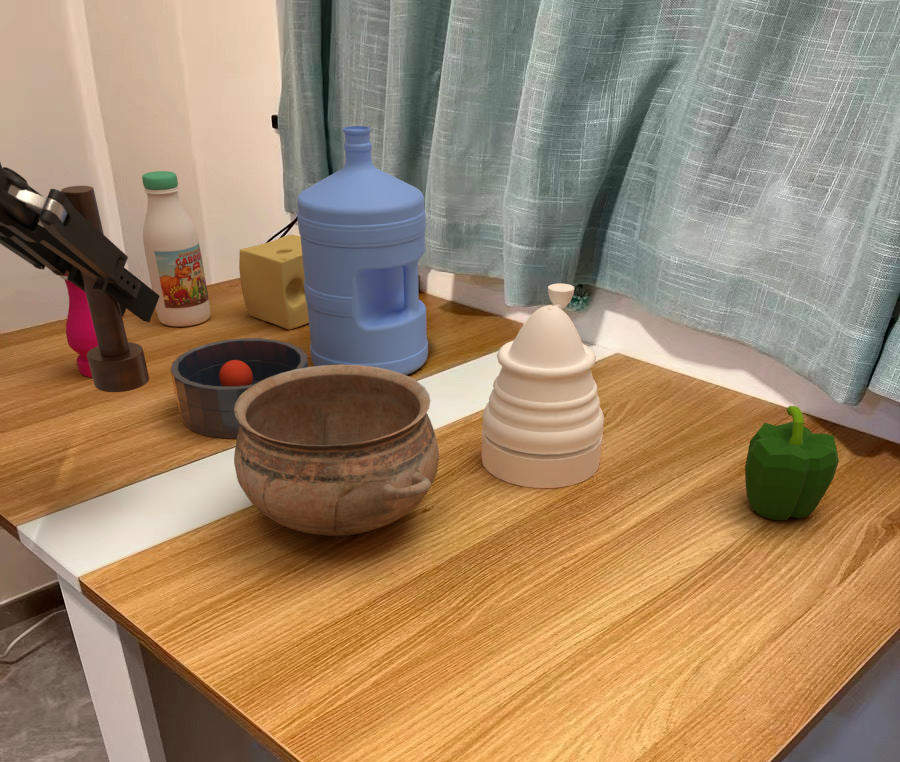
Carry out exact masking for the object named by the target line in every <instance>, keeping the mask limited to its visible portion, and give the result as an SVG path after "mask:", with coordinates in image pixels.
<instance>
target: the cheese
mask: <svg viewBox="0 0 900 762" xmlns="http://www.w3.org/2000/svg"><path fill="white" fill-rule="evenodd" d="M238 261H239V262H238V263H239V264H238V268H239V270H238V271H239V278H240V285H241V291H242V297H243V301H244V305H245V308H246V311H247V314H248V315H249V316H250V317H253V318H255V319H258V320H260V321H263V322H267V323H269V324H272V325H275V326H277V327H280V328H283V329H286V330H287V331H291V330H293V329H296V328H299V327H302V326H306V325H307V324H309V319H308V308H307V302H306V298H305V290H304V280H305V278H304V267H303V257H302V247H301V236H300V235H296V234H287V235H285V236H282V237H279V238H277V239H274V240H271V241H268V242H264V243H261V244H257V245H253V246H248V247H244V248H240V249H239V260H238Z"/></svg>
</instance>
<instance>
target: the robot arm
mask: <svg viewBox="0 0 900 762" xmlns="http://www.w3.org/2000/svg"><path fill="white" fill-rule="evenodd" d="M0 245H2V246H3V247H4V248H6V249H8V250H9V251H10V252H12V253H13V254H15V255H16V256H18V257H20V258H21V259H23V260H24V261H25V262H27V263H28V264H30V265H32V266H33V267H34V268H36V269H38V270H45V268H47V269H48V270H49V271H51V272H52V273H53V274H54V275H56V276H59V277H60V276H65V275H67V276H68V278H67V280H69V281H70V282H72V283H73V284H74V285H76V286H77V287H79V288H80V289H81V290H83V291H84V292H85V288H84V284H83V280H82V276H81V272H80V270H81V271H82V272H84V273H85V274H87V275H88V276H90V277H91V278H93V279H94V280H96V281H95V284H94V287H93V289H94V290H96V291H98V292H101V293H104V292H105V293H106V294H107V295H109V296H110V297H112V298H113V299H114V300H115V301H117V302H118V303H119V305H120V309H121V314H122V317H124V315H125V313H126V311H128V312H130V313H132V314H133V315H134V316H136V317H137V318H139V319H140V320H141V321H142V322H146V323H150V322H151V319H152V317H153V314H154V312H155V311H156V305H157V302H158V299H159V297H160V296H159V295H158V294H157V293H156V292H154V291H153V290H152V287H150V286H148V285H147V284H146V283H145V282H144V281H142V280H141V279H139V278H138V277H137V276H135V274H133V273H132V272H131V271H129V270H128V269H127V268H125V266H126V264H127V263H128V262H127V261H128V259H129V257H128V255H127V254H125V252H124V251H122V250H121V249H120V248H119V247H118V246H117V245H116V244H115V243H113V241H112V240H110V239H109V238H108V237H107V236H106V235H105V234H104V235H103V234H102V233H101V232H100V231H99V230H98V229H97V228H96V227H95V226H94V225H92V224H91V223H90V222H89V221H88V220H87V219H86V218H85V217H84V216H82V215H81V214H80V213H79V212H78V211H77V210H76V209H75V208H74V207H73V206H72V204H71V203H70V201H69V200H68V198H67V197H66V196H65V195H64V194H63V193H62V192H61V190H59V189H55V188H50V189H49V192H48V194H47V196H44V195H42V194H41V193H39V192H38V191H37V190H36V189H35V188H33V187H31V186H30V185H29V183H28V181H27V179H25V177H24V176H22V175H21V174H19V173H17V172H16V171H15V170H13V169H11V168H10V167H6V166H3V165H2V163H1V162H0Z"/></svg>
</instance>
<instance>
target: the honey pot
mask: <svg viewBox="0 0 900 762" xmlns="http://www.w3.org/2000/svg"><path fill="white" fill-rule="evenodd" d="M547 293H548V294H547V295H548V298H549V300H550V302H551V303H552V304H548V305H543V306H541V307H539V308H537V310H535V311H534V312H533V313H532V314H530V316H529V317H528V318H527V319H526V320H525V322H524V323H523V325H522V326H521V327H520V329H519V331H518V333H517V334H516V336H515V338H514V339H513V340H511V341H509V342H506V343H504V344H503V345H502V346H501V347H500V348H499V350H498V351H497V354H496V358H497V363H498V364H499V365H500V366H501V368H500V371H499V374H498V375H497V376H496V378H494V381H493V384H492V387H493V388H492V390H491V393H490V395H489V396H488V402H487V403H486V405H485V407H484V409H483V411H482V423H481V425H482V430H481V462H482V465H483V467H484V468H485V470H486V471H487V472H488V473H489V474H491V475H492V476H494V477H495V478H497V479H499V480H501V481H504V482H506V483H509V484H512V485H516V486H520V487H523V488H524V487H525V488H526V487H527V488H534V489H557V488H564V487H571V486H574V485H576V484H580V483H583V482H585V481H586V480H588V479H590V478H592V477H593V476H594V475H595V474H596V472H597V471H598V470H599V467H600V463H601V455H602V445H603V437H604V436H603V433H604V424H605V416H604V412H603V410H602V408H601V406H600V405H601V400H600V398H599V395H598V390H599V389H598V385H597V382H596V381H595V379H594V377H593V373H592V368H593V367H594V366H595V364H596V360H597V356H596V354H595V352H594V350H593V349H592V348H591V347H590V346H588V345H587V344H584V343H583V342H582V341H583V340H582V339H581V336H580V334H579V332H578V330H577V327H576V326H575V324H574V323H573V321H572V320H571V318H570V316H569V315H568V314H567V313H566V311H564V310H563V309H564V308H565V307H566V306H567V305H569V303H570V302H571V301H572V299H573V297H574V293H575V287H574V285H572V284H568V283H553V284H552V283H551V284H550V285H548V286H547Z"/></svg>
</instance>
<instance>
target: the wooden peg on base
mask: <svg viewBox="0 0 900 762" xmlns="http://www.w3.org/2000/svg"><path fill="white" fill-rule="evenodd" d="M60 191H61V192H62V193H63V194H64V195H65V196H66V197H67V198H68V200H69V201H70V203H71V204H72V206H73V207H74V208H75V209H76V210H77V211H78V212H79V213H80V214H81V215H82V216H84V217H85V218H86V219H87V220H88V221H89V222H90V223H91V224H92V225H94V226H95V227H96V228H97V229H98V230H99V231H100V232H101V233H102V234H103V235H105V234H104V229H103V225H102V220H101V217H100V210H99V206H98V202H97V198H96V193H95V188H94V187H93V186H90V185H72V186H66V187H63V188H62V189H60ZM80 272H81V276H82V280H83V284H84V288H85V292H86V296H87V301H88V305H89V309H90V313H91V317H92V321H93V325H94V329H95V333H96V337H97V342H98V346H97V347H95V348H93V349H91V350H90V351H89V352H88V353H87V358H88V362H89V366H90V370H91V374H92V377H91V378H92V381H93V385H94V387H95V388H96V389H97V390H98V391H100V392H105V393H124V392H129V391H130V392H131V391H134V390H137V389H140V388H142V387H143V386H146V384H148V383H149V381H150V376H149V371H148V366H147V362H146V357H145V352H144V348H143V346H142V345H141V344H138V343H137V342H130V341H128V337H127V333H126V332H127V331H126V328H125V327H126V326H125V323H124V319H123V316H122V314H121V309H120V305H119V303H118V302H117V301H115V300H114V299H113V298H112V297H110V296H109V295H107V294H106V293H105V292H104V293H101V292H98V291H96V290H94V289H93V287H94V284H95V281H96V280H94V279H93V278H91V277H90V276H88V275H87V274H85V273H84V272H82V271H81V270H80Z"/></svg>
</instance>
